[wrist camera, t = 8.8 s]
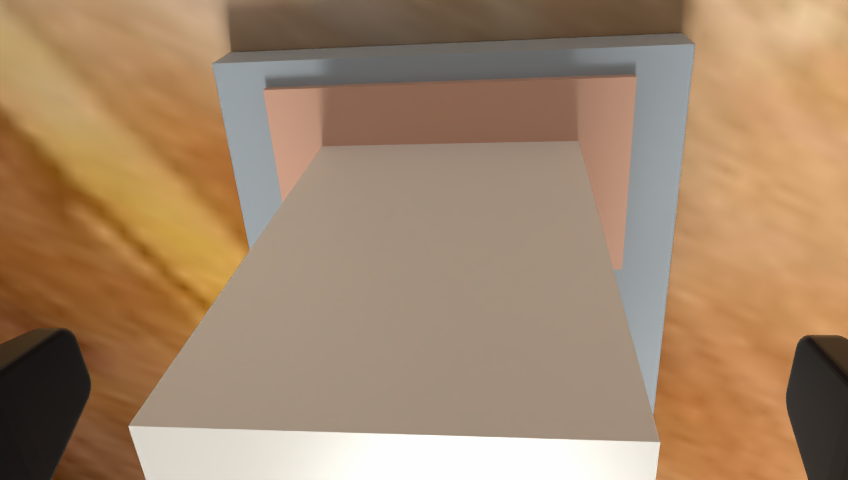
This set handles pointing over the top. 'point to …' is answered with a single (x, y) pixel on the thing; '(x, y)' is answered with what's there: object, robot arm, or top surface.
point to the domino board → (484, 129)
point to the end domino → (414, 331)
